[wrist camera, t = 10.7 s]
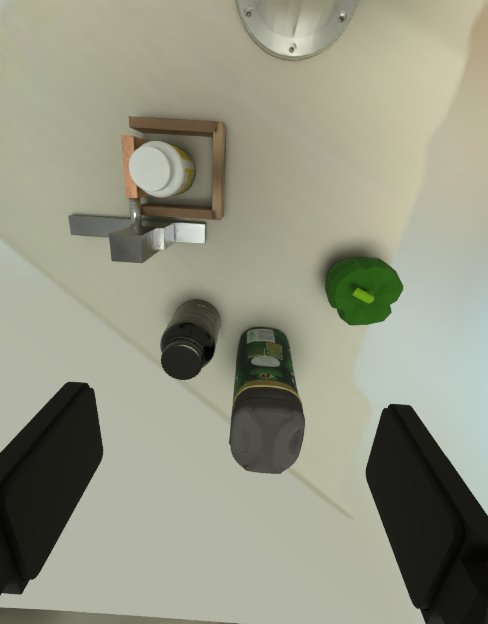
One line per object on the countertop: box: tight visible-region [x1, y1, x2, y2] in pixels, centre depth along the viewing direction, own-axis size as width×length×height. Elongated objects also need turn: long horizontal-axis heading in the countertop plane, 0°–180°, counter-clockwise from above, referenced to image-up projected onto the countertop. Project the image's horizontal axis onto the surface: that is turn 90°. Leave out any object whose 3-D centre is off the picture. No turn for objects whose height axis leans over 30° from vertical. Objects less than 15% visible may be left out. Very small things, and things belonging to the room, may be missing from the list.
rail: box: [68, 215, 206, 243], centre depth 41 cm, size 2×18×1 cm, turn 87°
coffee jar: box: [229, 329, 305, 474], centre depth 40 cm, size 10×8×19 cm
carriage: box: [109, 135, 175, 263], centre depth 34 cm, size 12×4×12 cm, turn 177°
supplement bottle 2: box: [160, 300, 220, 380], centre depth 41 cm, size 7×7×12 cm
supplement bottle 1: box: [129, 141, 195, 197], centre depth 34 cm, size 5×5×10 cm
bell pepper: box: [325, 257, 403, 325], centre depth 39 cm, size 8×8×10 cm
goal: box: [129, 116, 226, 220], centre depth 37 cm, size 10×10×4 cm
